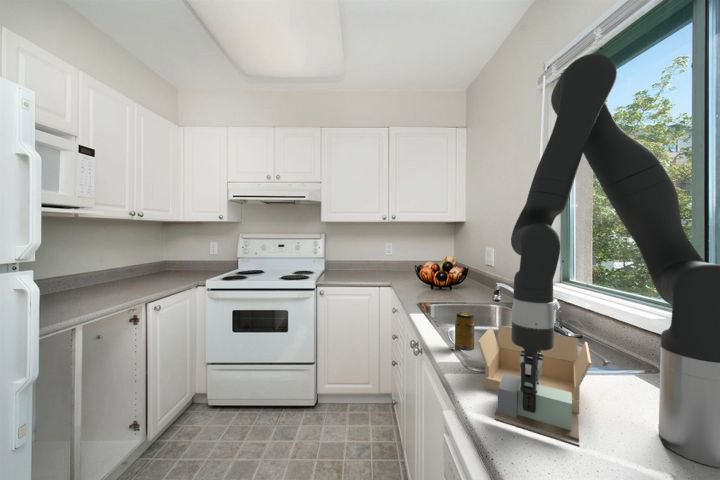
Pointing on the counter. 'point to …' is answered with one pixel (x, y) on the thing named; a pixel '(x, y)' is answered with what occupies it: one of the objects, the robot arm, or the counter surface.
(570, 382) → the carton
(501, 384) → the box
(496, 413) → the board
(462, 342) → the condiment
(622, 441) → the counter surface
